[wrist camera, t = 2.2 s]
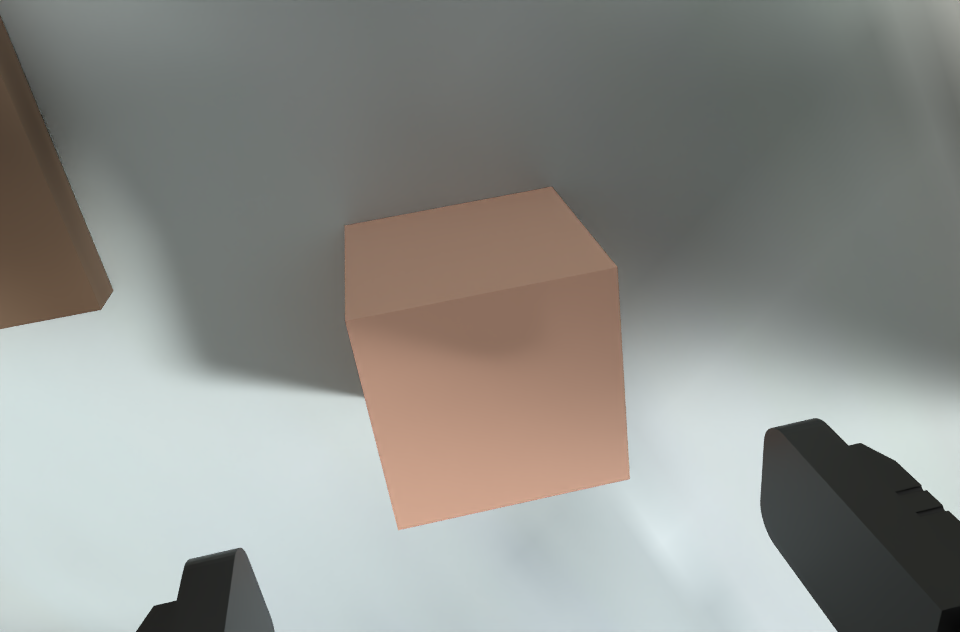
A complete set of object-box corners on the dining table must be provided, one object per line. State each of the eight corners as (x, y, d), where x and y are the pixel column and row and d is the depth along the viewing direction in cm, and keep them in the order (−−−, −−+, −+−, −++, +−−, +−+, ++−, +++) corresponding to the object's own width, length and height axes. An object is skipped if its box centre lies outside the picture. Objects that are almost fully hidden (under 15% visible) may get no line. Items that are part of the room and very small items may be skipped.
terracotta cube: (550, 185, 18) (617, 267, 14) (568, 361, 21) (629, 478, 16) (344, 224, 18) (344, 321, 13) (386, 399, 20) (398, 530, 16)
